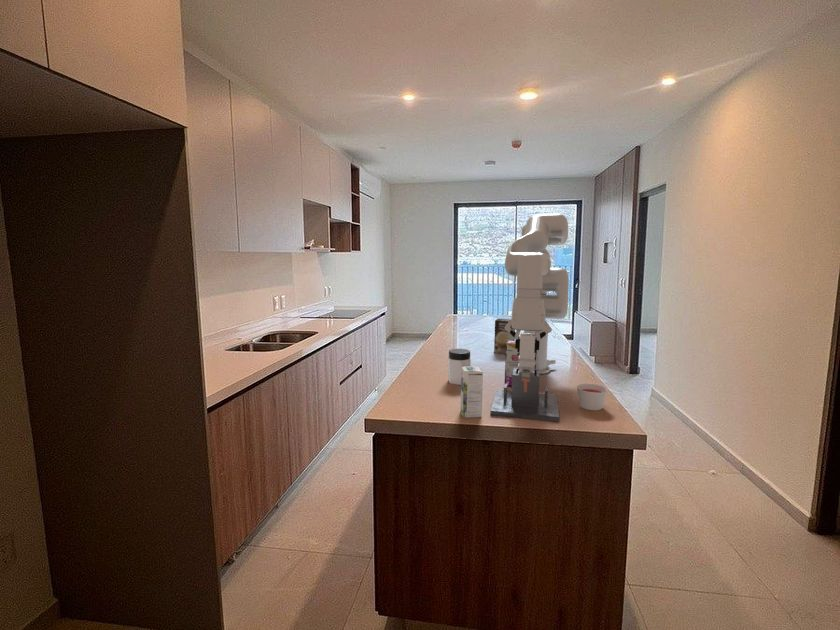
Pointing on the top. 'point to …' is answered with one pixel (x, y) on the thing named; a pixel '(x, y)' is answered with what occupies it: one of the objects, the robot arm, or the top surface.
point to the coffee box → (501, 336)
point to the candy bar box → (513, 361)
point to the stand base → (525, 399)
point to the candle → (591, 396)
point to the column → (527, 353)
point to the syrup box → (471, 391)
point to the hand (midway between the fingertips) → (527, 351)
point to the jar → (457, 364)
